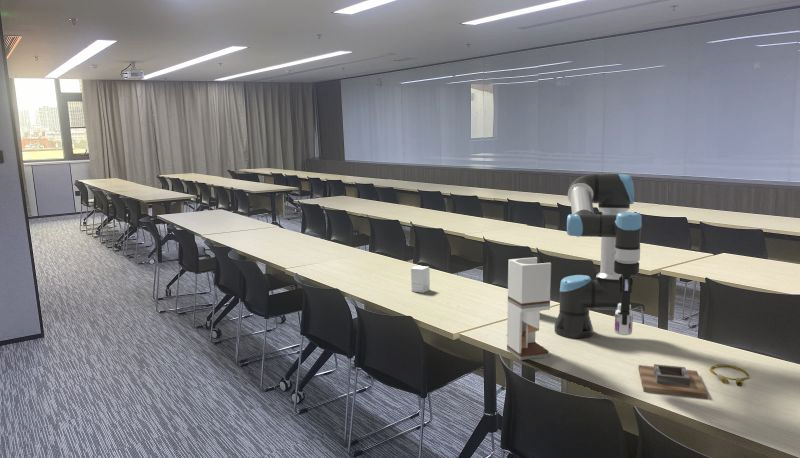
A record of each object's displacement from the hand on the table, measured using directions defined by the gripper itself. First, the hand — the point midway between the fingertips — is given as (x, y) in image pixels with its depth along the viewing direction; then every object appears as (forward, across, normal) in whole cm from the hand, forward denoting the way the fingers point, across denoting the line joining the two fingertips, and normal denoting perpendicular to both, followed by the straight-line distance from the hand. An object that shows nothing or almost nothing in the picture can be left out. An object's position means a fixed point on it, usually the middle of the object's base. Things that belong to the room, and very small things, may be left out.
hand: (623, 330), depth 186 cm
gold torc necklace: (+18, -14, +34) cm, 41 cm away
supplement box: (+17, -87, -96) cm, 131 cm away
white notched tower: (+17, -15, -32) cm, 39 cm away
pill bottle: (+1, 0, 0) cm, 1 cm away
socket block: (+17, -2, +15) cm, 23 cm away
